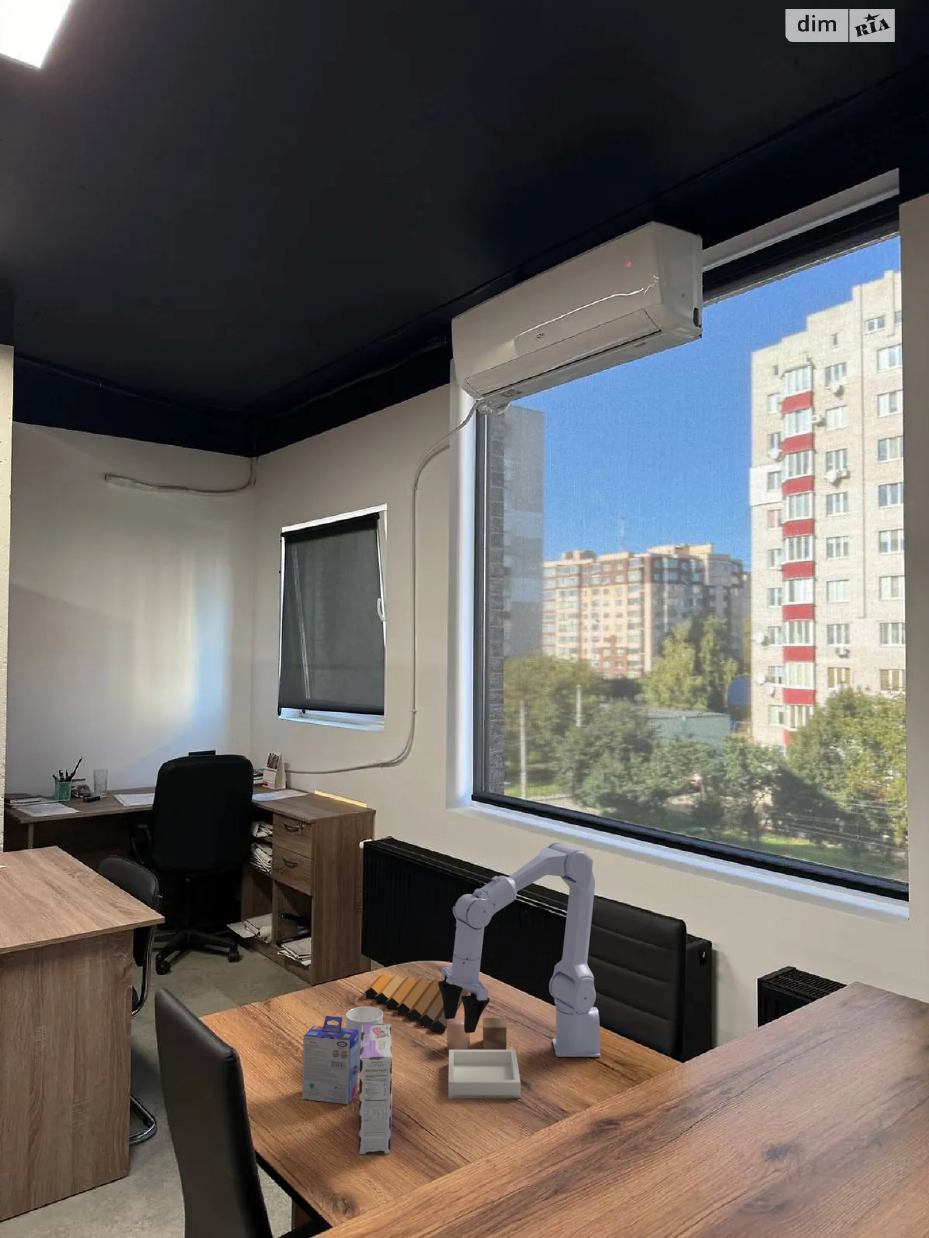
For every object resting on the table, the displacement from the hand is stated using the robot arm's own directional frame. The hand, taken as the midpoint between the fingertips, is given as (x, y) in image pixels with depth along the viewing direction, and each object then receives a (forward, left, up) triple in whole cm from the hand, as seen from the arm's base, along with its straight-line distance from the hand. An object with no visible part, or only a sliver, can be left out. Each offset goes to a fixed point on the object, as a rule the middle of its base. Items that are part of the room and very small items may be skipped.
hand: (459, 1024), depth 172 cm
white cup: (+20, -8, -11) cm, 24 cm away
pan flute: (+12, -36, -12) cm, 40 cm away
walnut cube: (-8, -16, -11) cm, 21 cm away
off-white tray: (-5, 0, -11) cm, 12 cm away
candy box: (+15, +19, -11) cm, 27 cm away
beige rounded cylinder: (0, -14, -11) cm, 17 cm away
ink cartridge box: (+25, +6, -11) cm, 28 cm away
